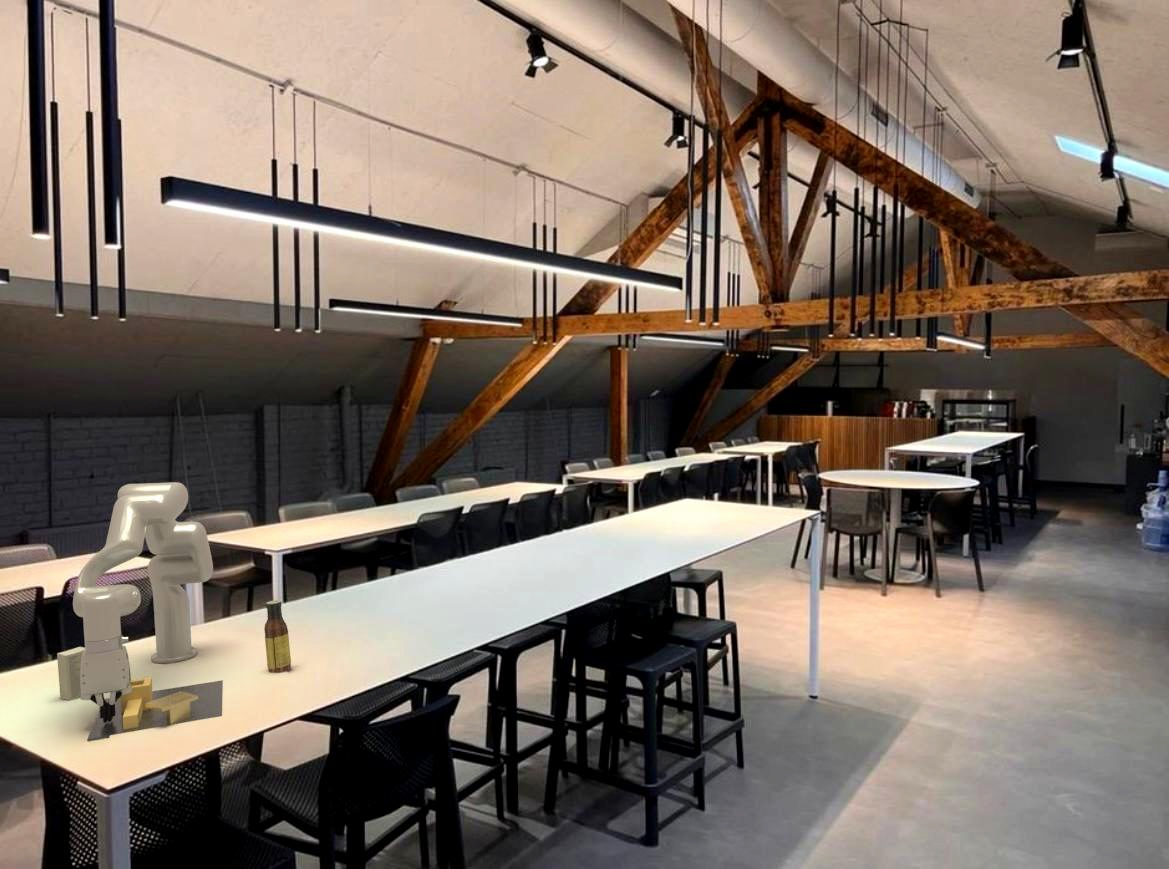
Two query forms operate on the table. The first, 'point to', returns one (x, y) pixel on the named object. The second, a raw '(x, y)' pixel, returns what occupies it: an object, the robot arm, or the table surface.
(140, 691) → the link
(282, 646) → the sauce bottle
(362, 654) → the table surface
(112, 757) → the table surface
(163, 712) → the pintle board
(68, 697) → the skincare box
